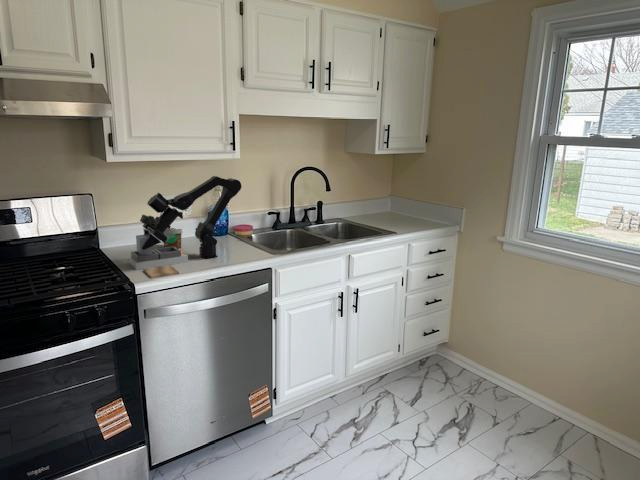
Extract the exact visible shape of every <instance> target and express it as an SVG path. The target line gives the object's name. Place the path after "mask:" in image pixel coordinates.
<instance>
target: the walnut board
mask: <svg viewBox="0 0 640 480" xmlns="http://www.w3.org/2000/svg"><path fill="white" fill-rule="evenodd" d="M142 270H143V272H144V273H145V274H146V275H147V276H148V277H149V278H151V279H155V278H162V277H166V276H167V277H168V276H173V275H179V274H180V271H178V270H177V269H176V268H174V267H173V266H172V265H165V266H158V267H152V268H145V269H142Z"/></svg>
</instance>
